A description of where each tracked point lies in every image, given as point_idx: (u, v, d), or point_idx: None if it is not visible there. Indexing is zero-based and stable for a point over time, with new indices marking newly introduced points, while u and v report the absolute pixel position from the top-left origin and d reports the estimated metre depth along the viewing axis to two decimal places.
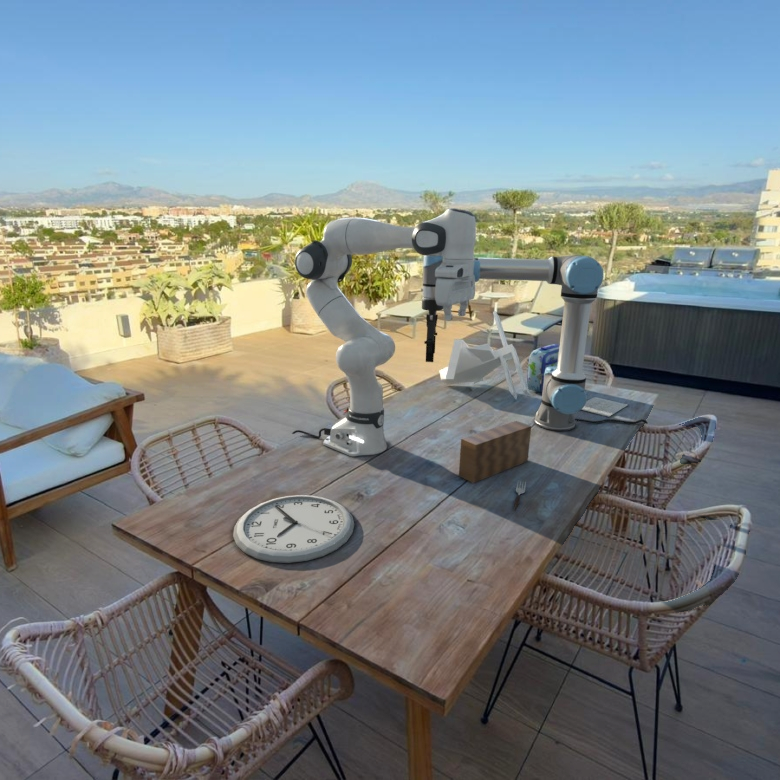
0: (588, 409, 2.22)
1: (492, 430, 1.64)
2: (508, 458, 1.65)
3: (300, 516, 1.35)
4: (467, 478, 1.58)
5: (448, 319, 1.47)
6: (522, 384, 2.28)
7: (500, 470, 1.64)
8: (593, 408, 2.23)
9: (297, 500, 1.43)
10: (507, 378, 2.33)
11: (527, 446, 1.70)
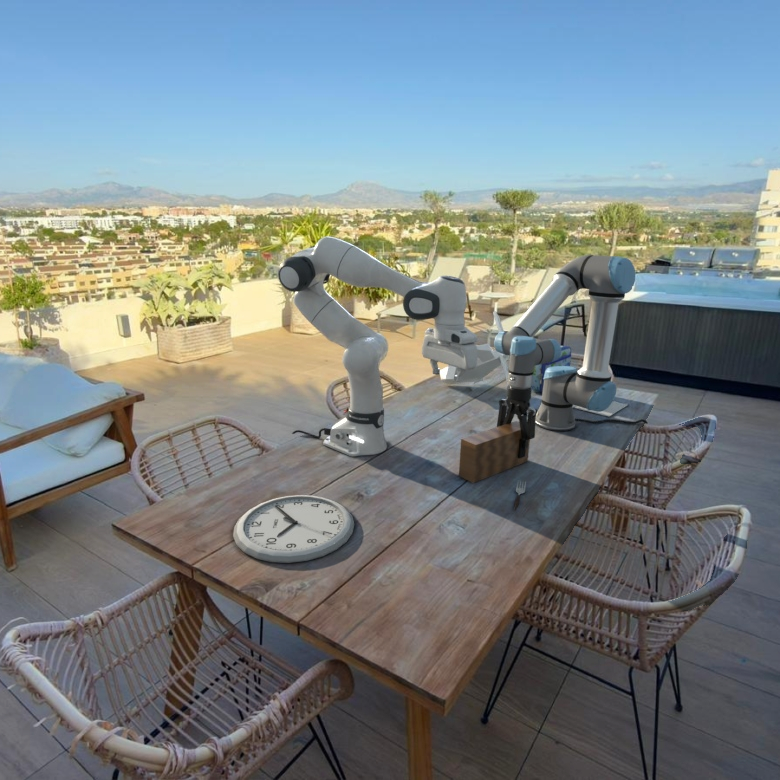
0: None
1: (492, 430, 1.64)
2: (508, 458, 1.65)
3: (300, 516, 1.35)
4: (467, 478, 1.58)
5: (460, 380, 1.54)
6: None
7: (500, 470, 1.64)
8: None
9: (297, 500, 1.43)
10: (507, 378, 2.33)
11: None
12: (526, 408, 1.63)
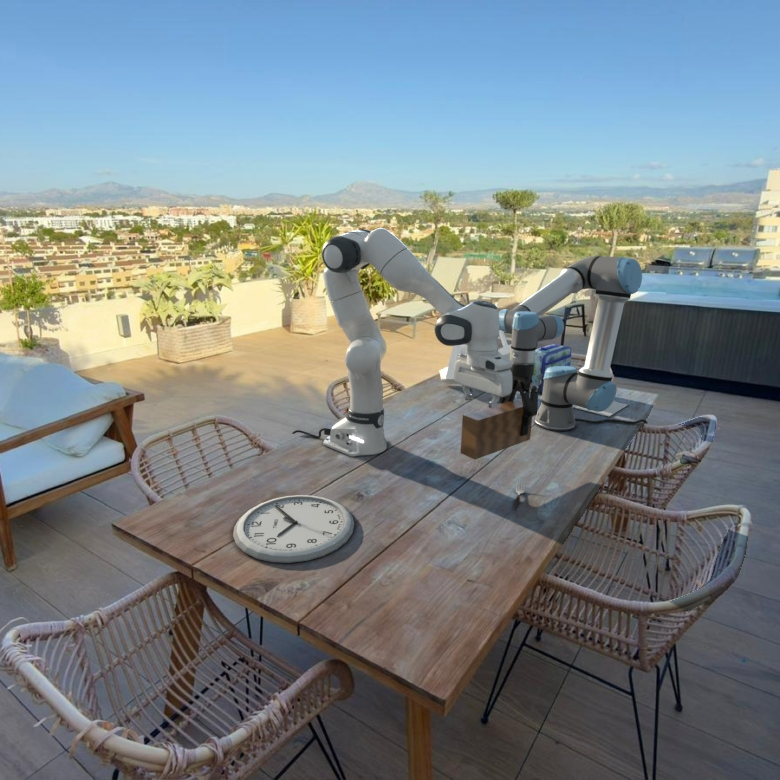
0: None
1: None
2: (510, 435, 1.63)
3: (300, 516, 1.35)
4: (469, 455, 1.56)
5: (495, 407, 1.50)
6: None
7: (502, 447, 1.62)
8: None
9: (297, 500, 1.43)
10: None
11: None
12: (528, 384, 1.60)
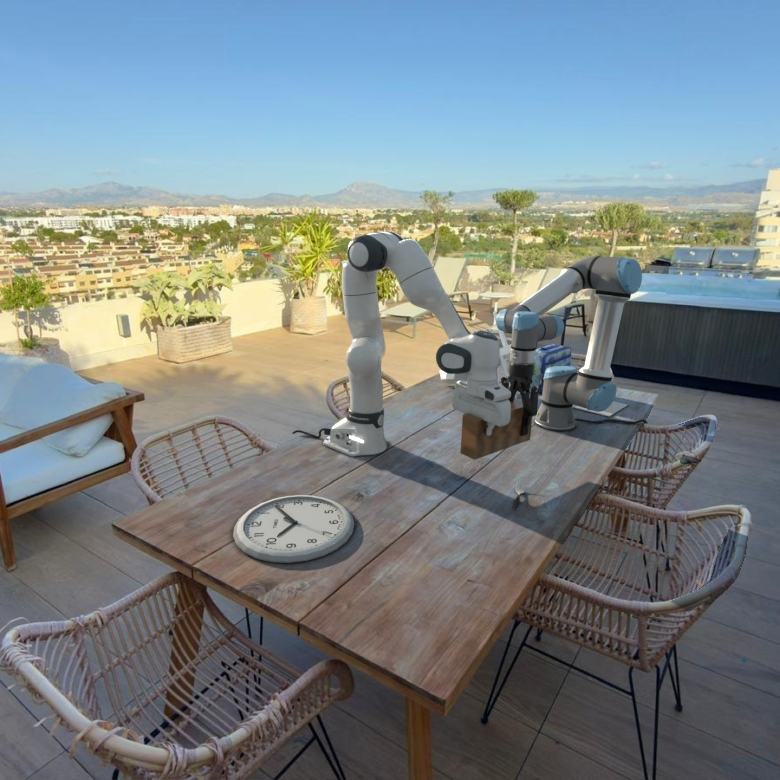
0: None
1: None
2: (510, 435, 1.63)
3: (300, 516, 1.35)
4: (469, 455, 1.56)
5: (490, 434, 1.54)
6: None
7: (502, 448, 1.62)
8: None
9: (297, 500, 1.43)
10: None
11: None
12: (529, 384, 1.60)
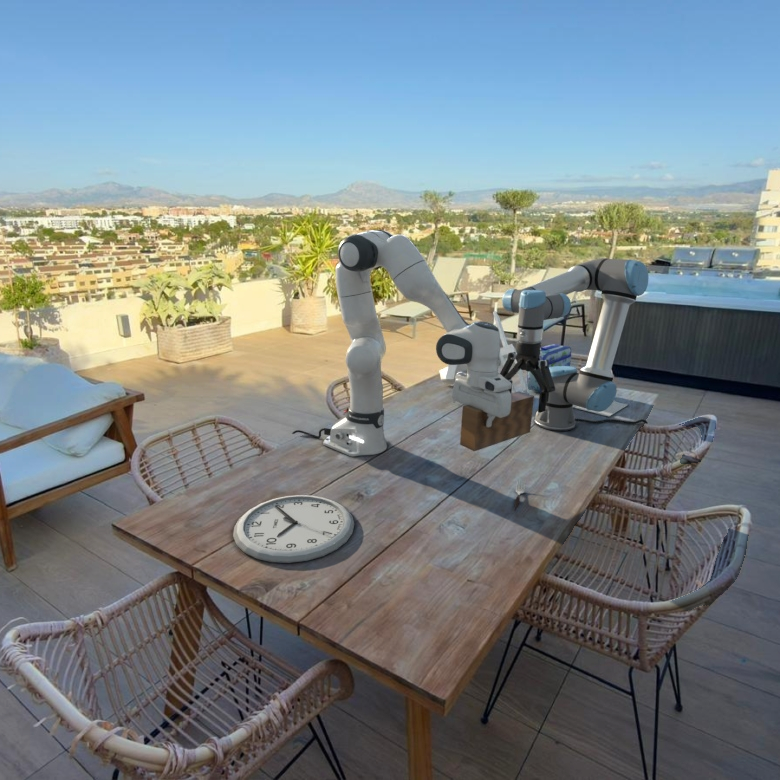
0: None
1: None
2: (510, 427, 1.62)
3: (300, 516, 1.35)
4: (468, 446, 1.55)
5: (490, 425, 1.53)
6: (522, 384, 2.28)
7: (502, 440, 1.61)
8: None
9: (297, 500, 1.43)
10: None
11: (530, 417, 1.67)
12: (536, 363, 1.60)
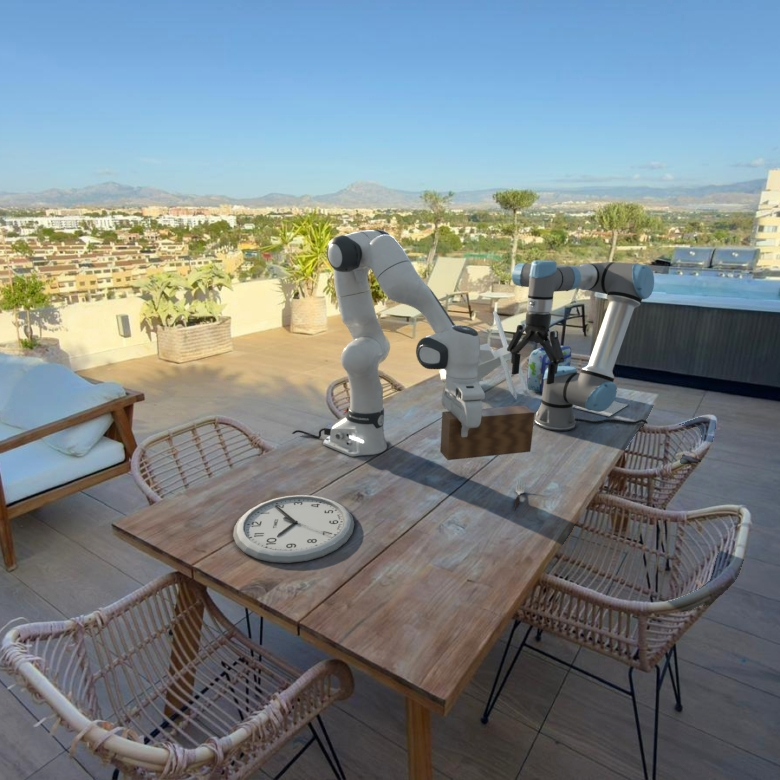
0: None
1: (485, 409, 1.51)
2: (499, 442, 1.50)
3: (300, 516, 1.35)
4: (444, 454, 1.49)
5: (465, 435, 1.45)
6: (522, 384, 2.28)
7: (488, 454, 1.50)
8: None
9: (297, 500, 1.43)
10: (507, 378, 2.33)
11: (529, 434, 1.52)
12: (546, 334, 1.59)
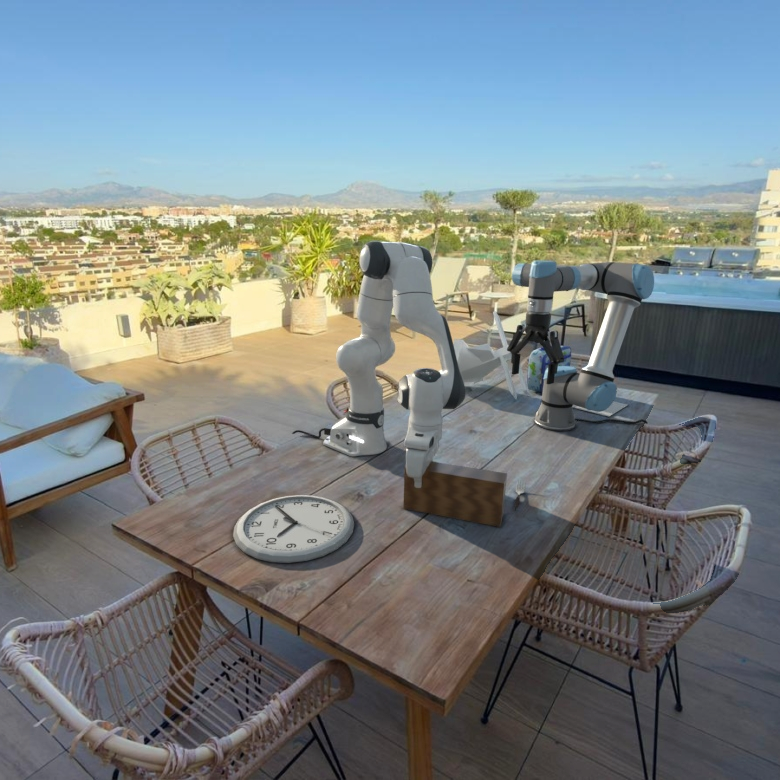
0: None
1: (456, 467, 1.39)
2: (461, 506, 1.36)
3: (300, 516, 1.35)
4: None
5: (418, 486, 1.35)
6: (522, 384, 2.28)
7: (448, 515, 1.38)
8: None
9: (297, 500, 1.43)
10: (507, 378, 2.33)
11: (498, 507, 1.33)
12: (546, 334, 1.59)
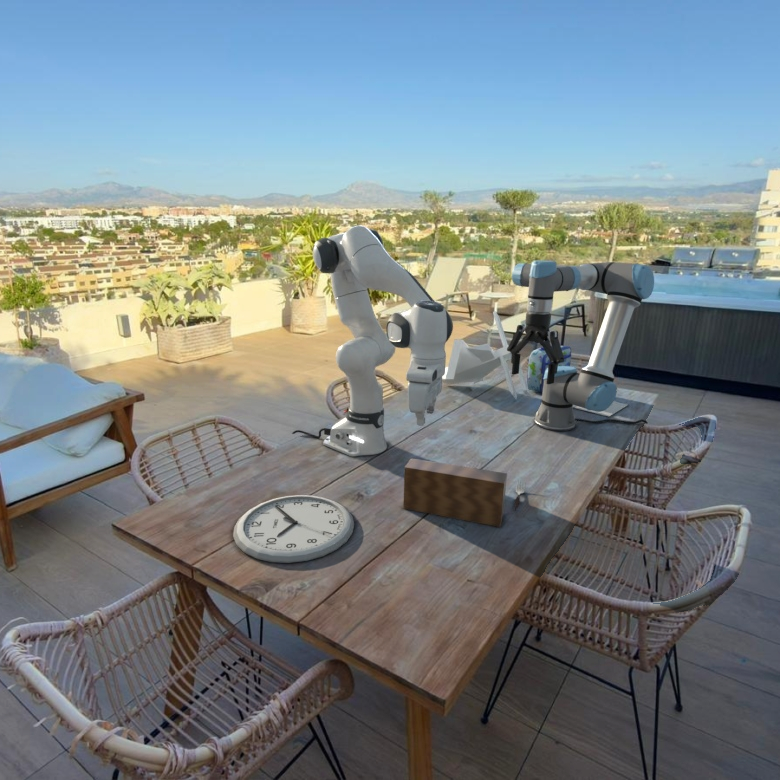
0: None
1: (456, 467, 1.39)
2: (461, 506, 1.36)
3: (300, 516, 1.35)
4: None
5: (421, 424, 1.30)
6: (522, 384, 2.28)
7: (448, 515, 1.38)
8: None
9: (297, 500, 1.43)
10: (507, 378, 2.33)
11: (498, 507, 1.33)
12: (546, 334, 1.59)
